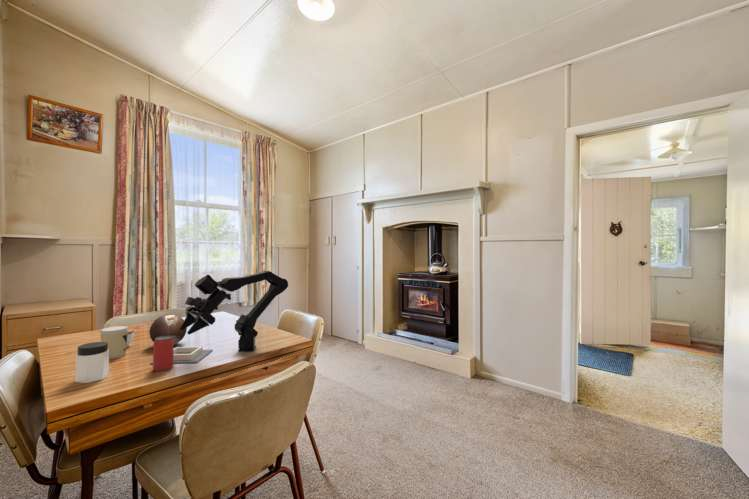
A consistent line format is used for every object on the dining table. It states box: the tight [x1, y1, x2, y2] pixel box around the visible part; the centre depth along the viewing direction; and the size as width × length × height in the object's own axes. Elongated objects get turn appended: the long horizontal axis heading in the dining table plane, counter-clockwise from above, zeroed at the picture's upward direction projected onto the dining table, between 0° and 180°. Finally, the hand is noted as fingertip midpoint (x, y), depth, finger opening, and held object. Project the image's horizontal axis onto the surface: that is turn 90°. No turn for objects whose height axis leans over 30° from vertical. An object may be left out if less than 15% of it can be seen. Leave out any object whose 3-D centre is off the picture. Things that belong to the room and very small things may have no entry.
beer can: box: [152, 336, 175, 372], centre depth 124 cm, size 7×7×12 cm
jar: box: [75, 341, 110, 384], centre depth 114 cm, size 9×8×12 cm
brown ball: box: [149, 313, 188, 345], centre depth 153 cm, size 15×15×15 cm
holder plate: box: [149, 346, 214, 365], centre depth 137 cm, size 18×16×3 cm
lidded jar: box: [126, 327, 135, 348], centre depth 150 cm, size 11×11×9 cm
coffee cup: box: [99, 325, 128, 360], centre depth 137 cm, size 9×9×12 cm
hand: (184, 331), depth 129 cm, fingers open, 9 cm apart
